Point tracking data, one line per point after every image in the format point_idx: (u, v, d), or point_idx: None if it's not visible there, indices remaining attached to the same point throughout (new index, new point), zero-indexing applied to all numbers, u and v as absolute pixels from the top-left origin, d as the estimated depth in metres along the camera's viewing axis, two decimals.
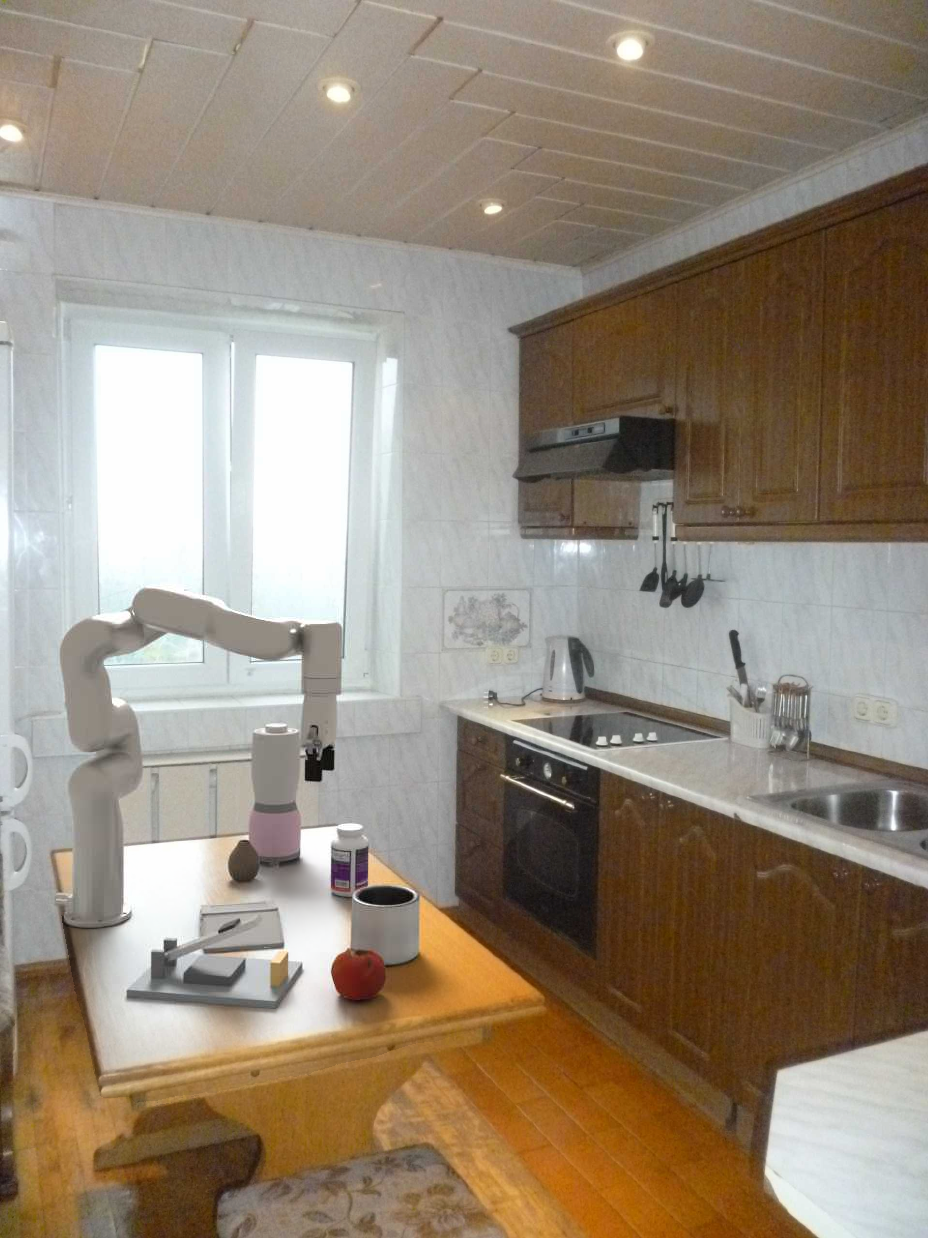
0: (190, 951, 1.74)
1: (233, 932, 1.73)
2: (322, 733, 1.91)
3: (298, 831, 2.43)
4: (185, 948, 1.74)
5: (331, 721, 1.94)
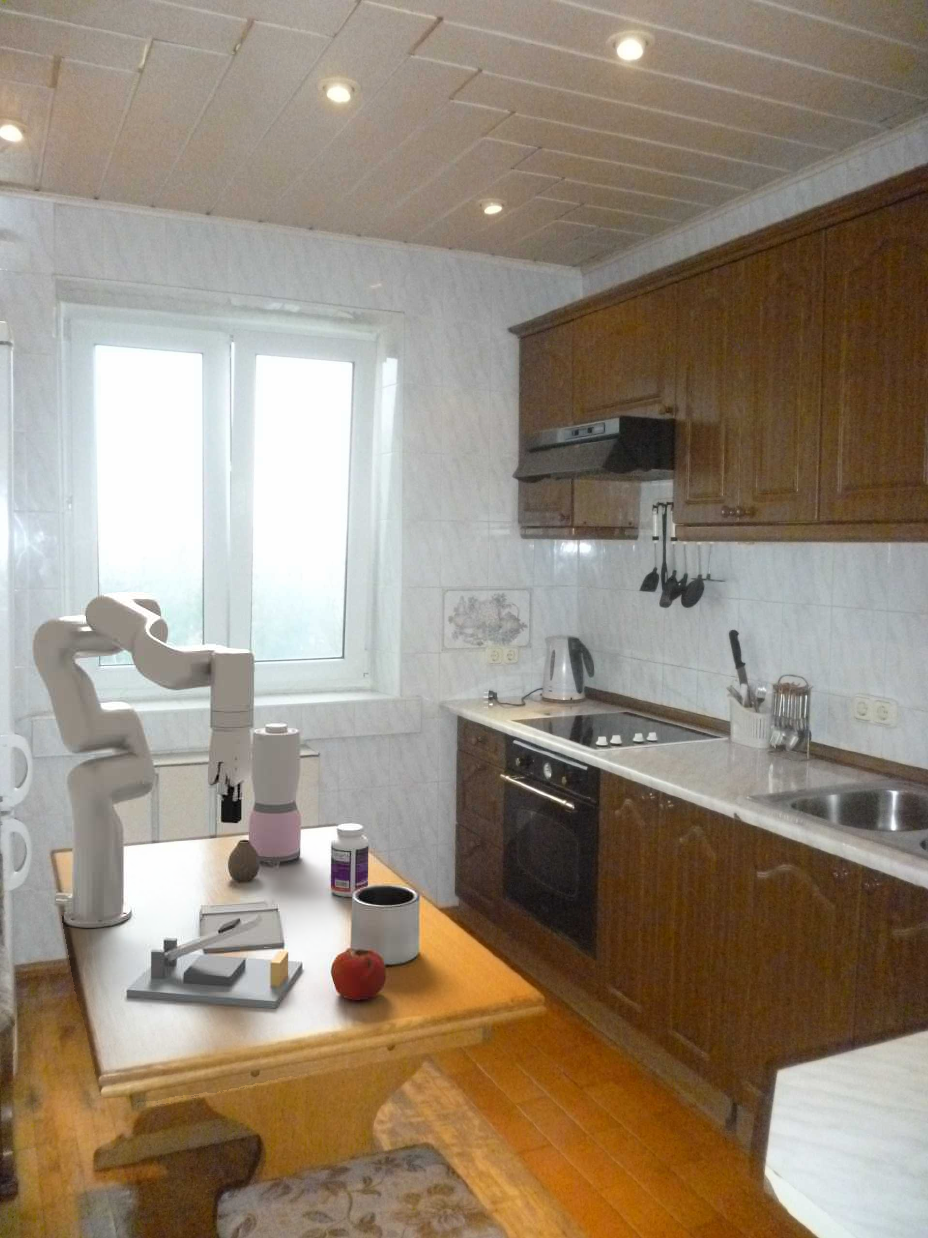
0: (190, 951, 1.74)
1: (233, 932, 1.73)
2: (231, 771, 1.78)
3: (298, 831, 2.43)
4: (185, 948, 1.74)
5: (242, 757, 1.81)
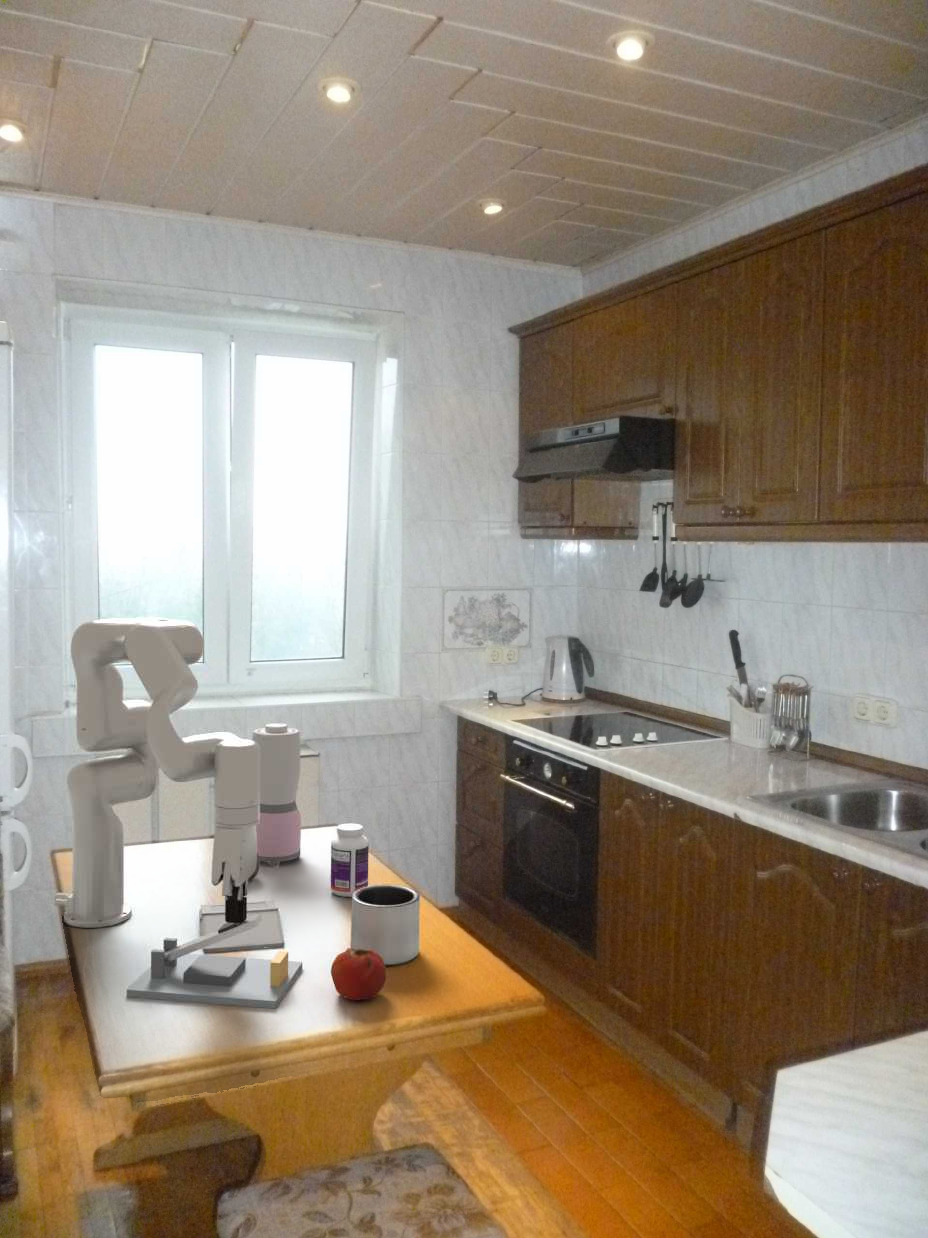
0: (190, 951, 1.74)
1: (233, 932, 1.73)
2: (236, 871, 1.69)
3: (298, 831, 2.43)
4: (185, 948, 1.74)
5: (247, 855, 1.72)
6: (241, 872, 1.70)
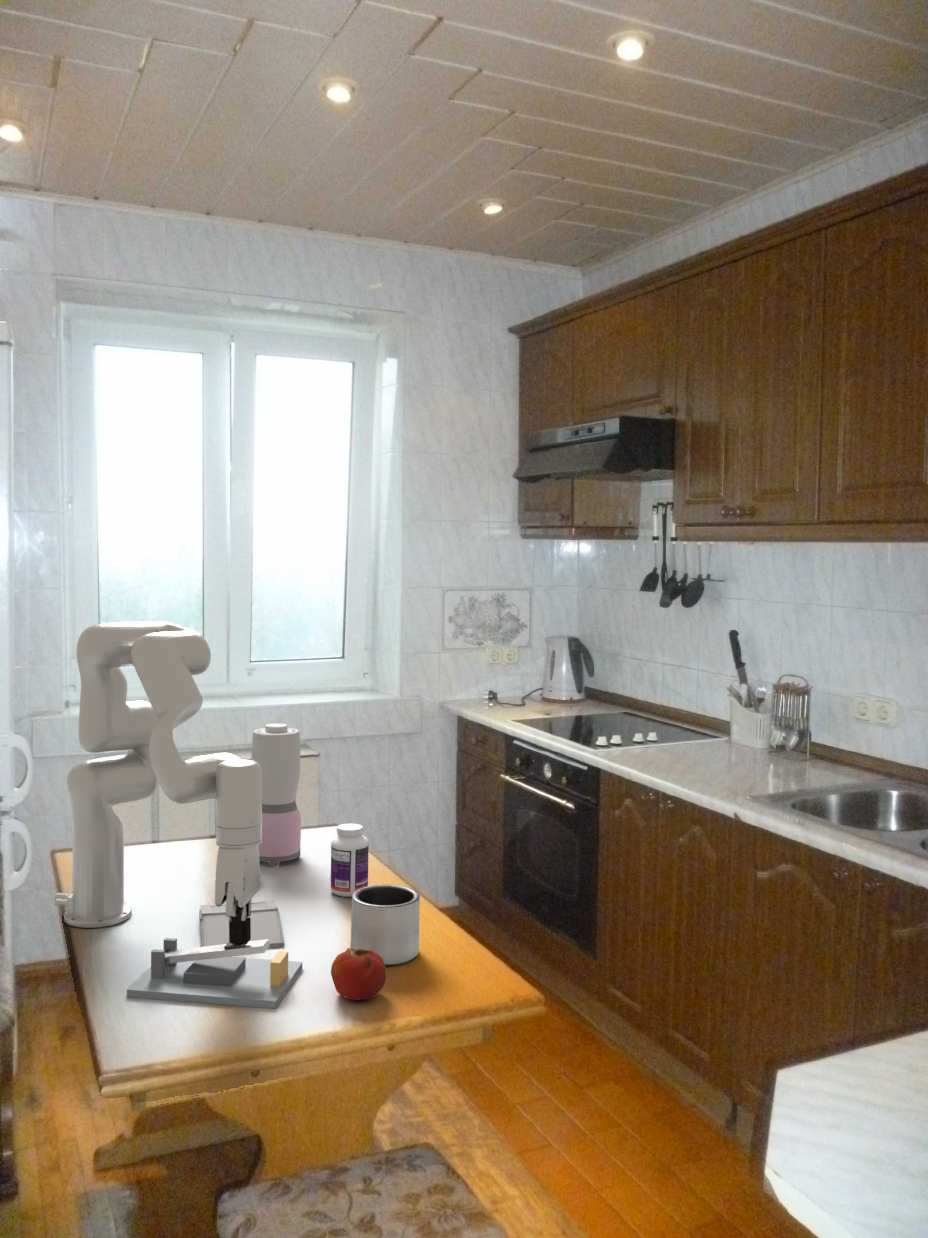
0: (192, 959, 1.74)
1: (239, 952, 1.73)
2: (239, 891, 1.69)
3: (298, 831, 2.43)
4: (188, 955, 1.74)
5: (250, 875, 1.72)
6: (244, 892, 1.70)
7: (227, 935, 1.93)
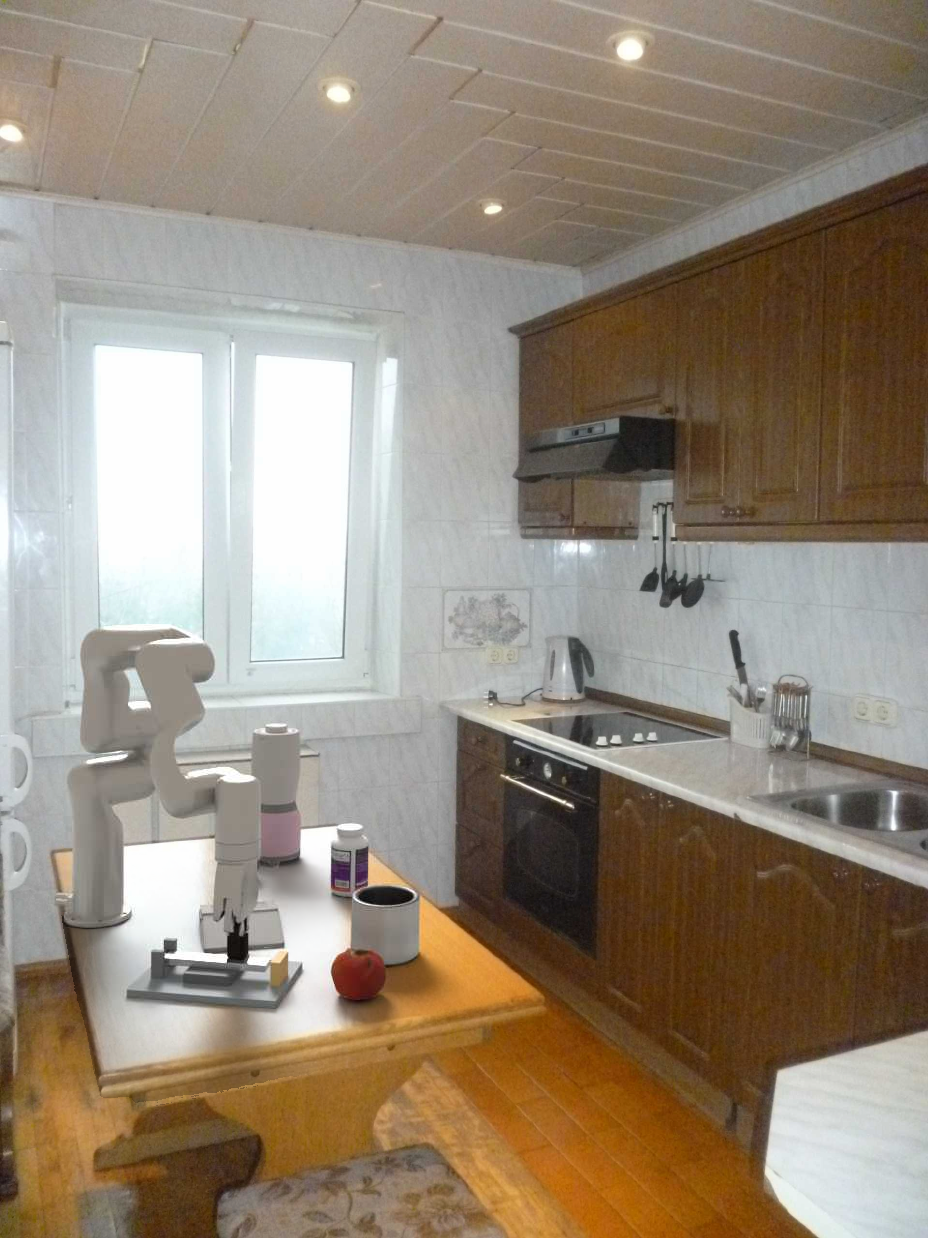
0: (192, 965, 1.74)
1: (240, 968, 1.73)
2: (237, 907, 1.69)
3: (298, 831, 2.43)
4: (189, 960, 1.74)
5: (248, 890, 1.72)
6: (242, 908, 1.70)
7: None
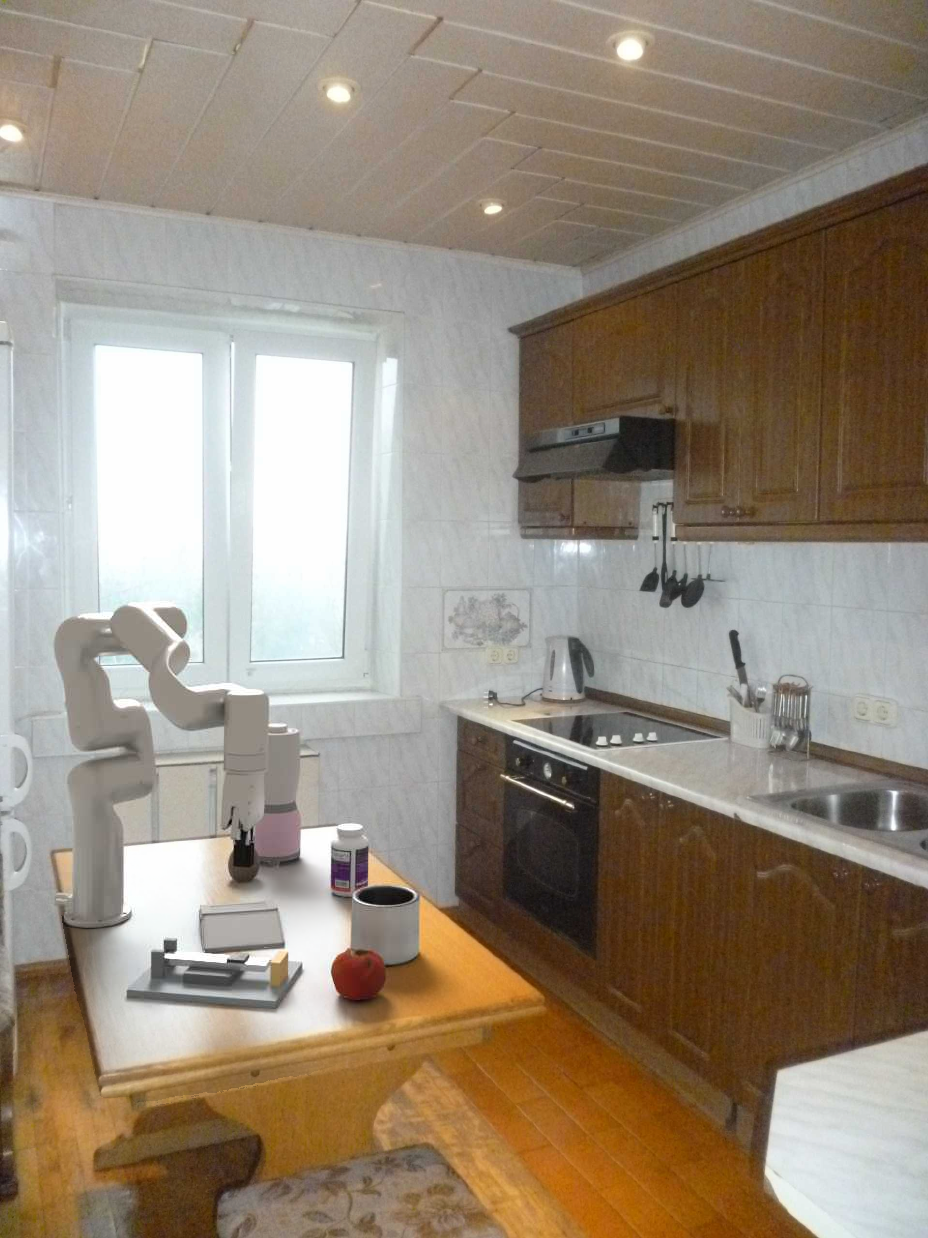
0: (192, 965, 1.74)
1: (240, 968, 1.73)
2: (244, 815, 1.74)
3: (298, 831, 2.43)
4: (189, 960, 1.74)
5: (255, 801, 1.77)
6: (249, 817, 1.75)
7: (227, 935, 1.93)
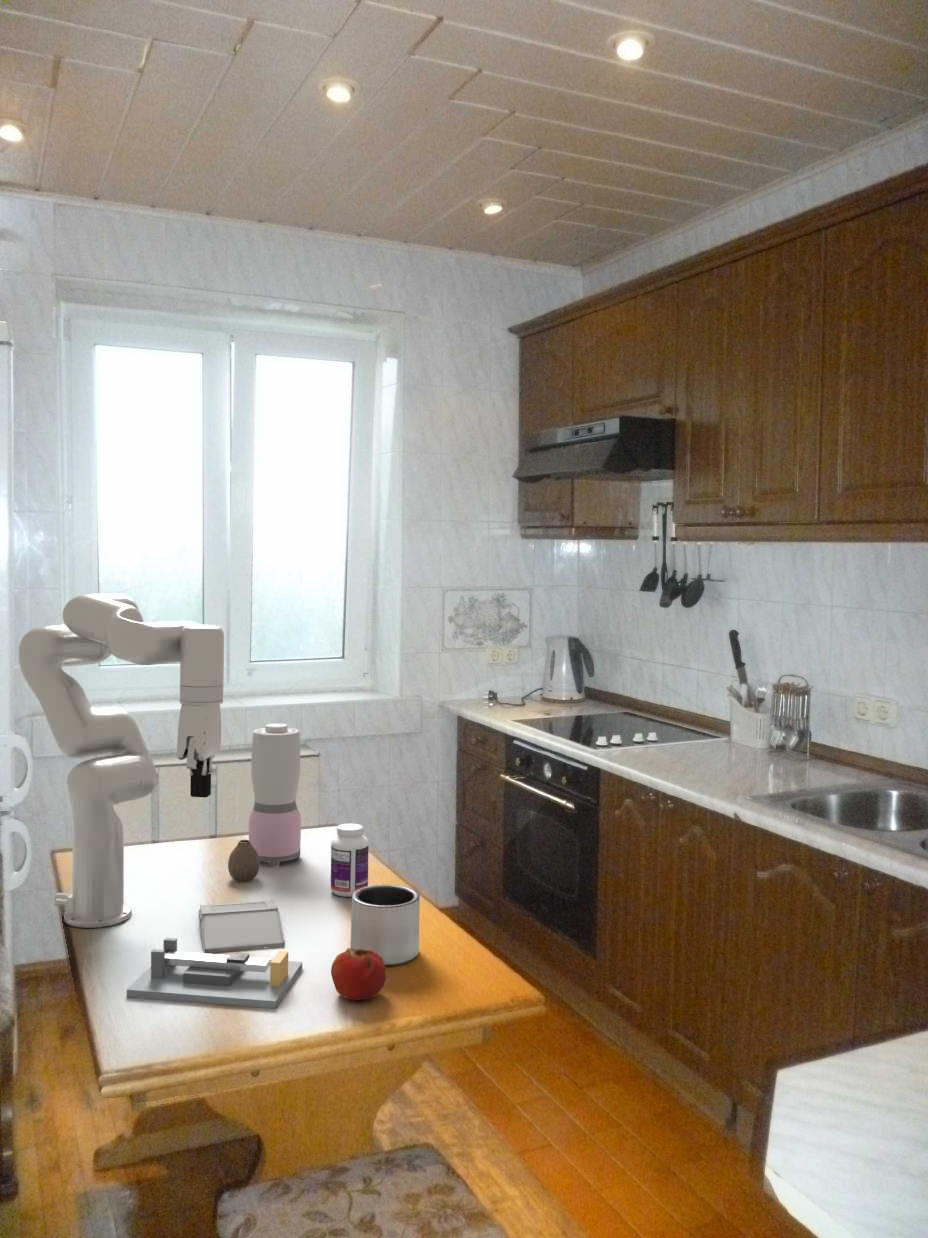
0: (192, 965, 1.74)
1: (240, 968, 1.73)
2: (200, 745, 1.80)
3: (298, 831, 2.43)
4: (189, 960, 1.74)
5: (211, 732, 1.83)
6: (205, 747, 1.81)
7: (227, 935, 1.93)
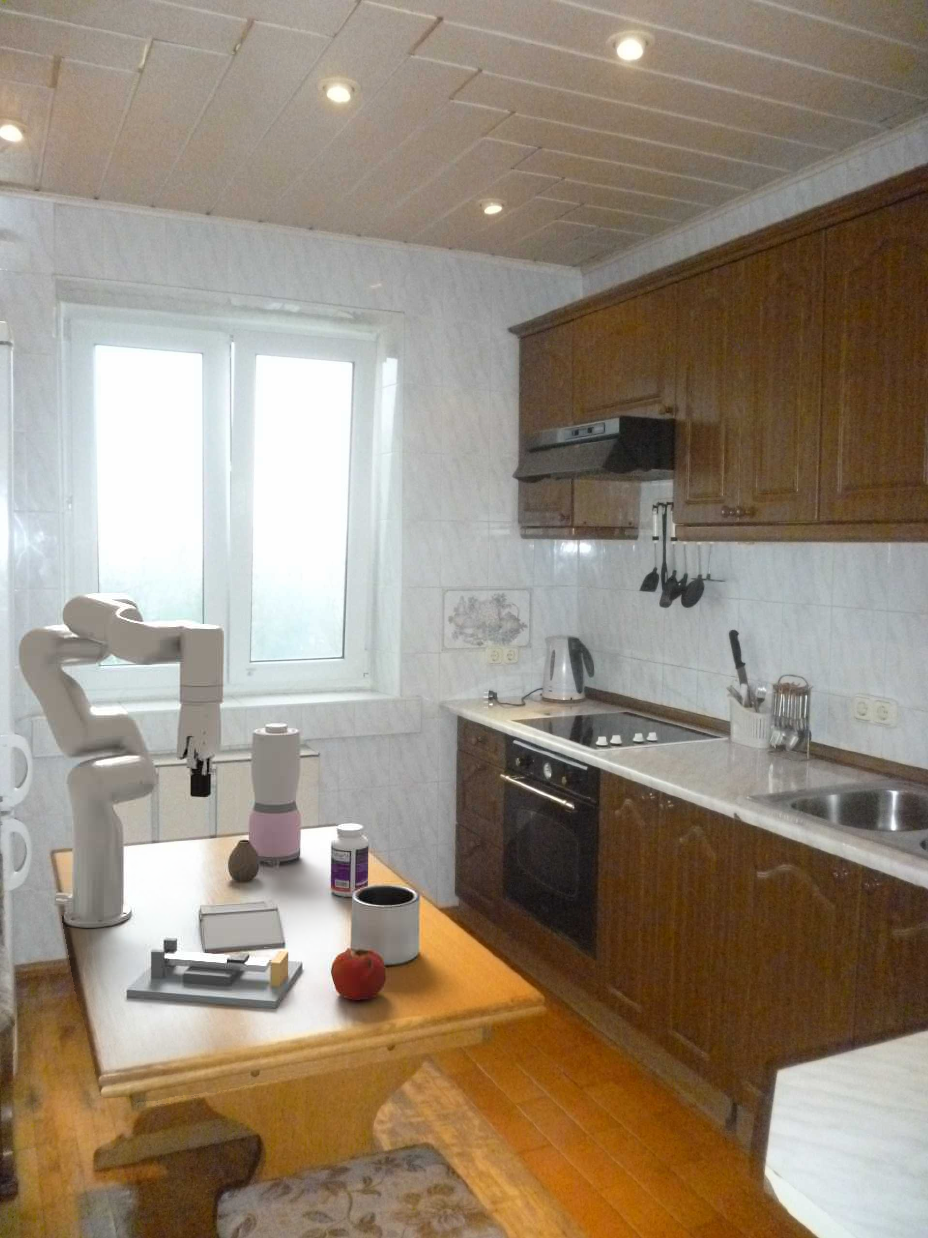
0: (192, 965, 1.74)
1: (240, 968, 1.73)
2: (199, 745, 1.80)
3: (298, 831, 2.43)
4: (189, 960, 1.74)
5: (211, 732, 1.83)
6: (205, 746, 1.81)
7: (228, 935, 1.93)
